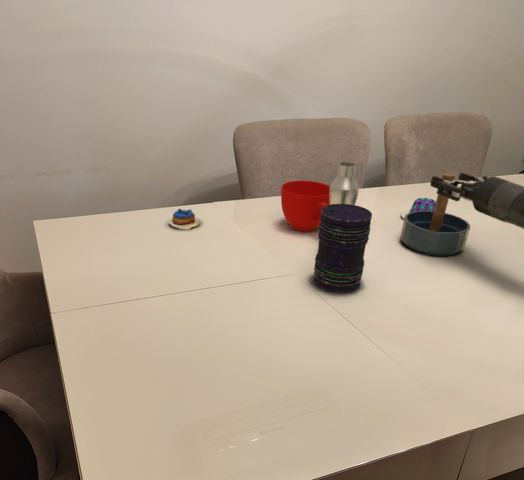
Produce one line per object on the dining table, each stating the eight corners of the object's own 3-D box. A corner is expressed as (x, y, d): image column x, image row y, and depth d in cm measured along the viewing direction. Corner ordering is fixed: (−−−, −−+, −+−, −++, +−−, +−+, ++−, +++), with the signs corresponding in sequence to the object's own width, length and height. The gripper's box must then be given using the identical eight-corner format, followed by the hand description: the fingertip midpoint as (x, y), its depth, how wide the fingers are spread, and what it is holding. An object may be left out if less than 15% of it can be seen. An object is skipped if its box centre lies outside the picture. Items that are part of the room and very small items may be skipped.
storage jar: (362, 275, 107) (374, 207, 99) (359, 296, 99) (371, 223, 91) (316, 269, 109) (323, 201, 100) (309, 289, 101) (317, 217, 92)
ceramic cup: (300, 245, 119) (304, 203, 114) (270, 220, 132) (272, 182, 126) (346, 238, 124) (352, 198, 118) (313, 215, 137) (317, 178, 131)
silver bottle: (344, 246, 120) (356, 160, 108) (353, 258, 114) (367, 168, 103) (318, 247, 119) (328, 160, 107) (325, 259, 113) (337, 168, 102)
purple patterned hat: (441, 214, 142) (446, 196, 139) (447, 229, 133) (452, 210, 130) (399, 210, 144) (402, 191, 141) (401, 224, 134) (405, 205, 131)
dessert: (183, 229, 122) (174, 206, 121) (169, 238, 127) (160, 216, 126) (207, 223, 127) (198, 201, 127) (192, 232, 132) (183, 211, 132)
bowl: (471, 244, 125) (478, 221, 121) (450, 263, 114) (457, 238, 111) (414, 228, 132) (419, 206, 129) (389, 245, 122) (394, 221, 118)
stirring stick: (444, 241, 123) (461, 174, 114) (437, 246, 120) (454, 178, 111) (427, 236, 125) (443, 170, 116) (420, 241, 122) (435, 174, 113)
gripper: (532, 178, 104) (473, 159, 115) (483, 185, 98) (426, 164, 110) (520, 214, 108) (464, 192, 120) (473, 222, 102) (418, 198, 114)
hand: (446, 178), depth 115 cm, fingers open, 8 cm apart
